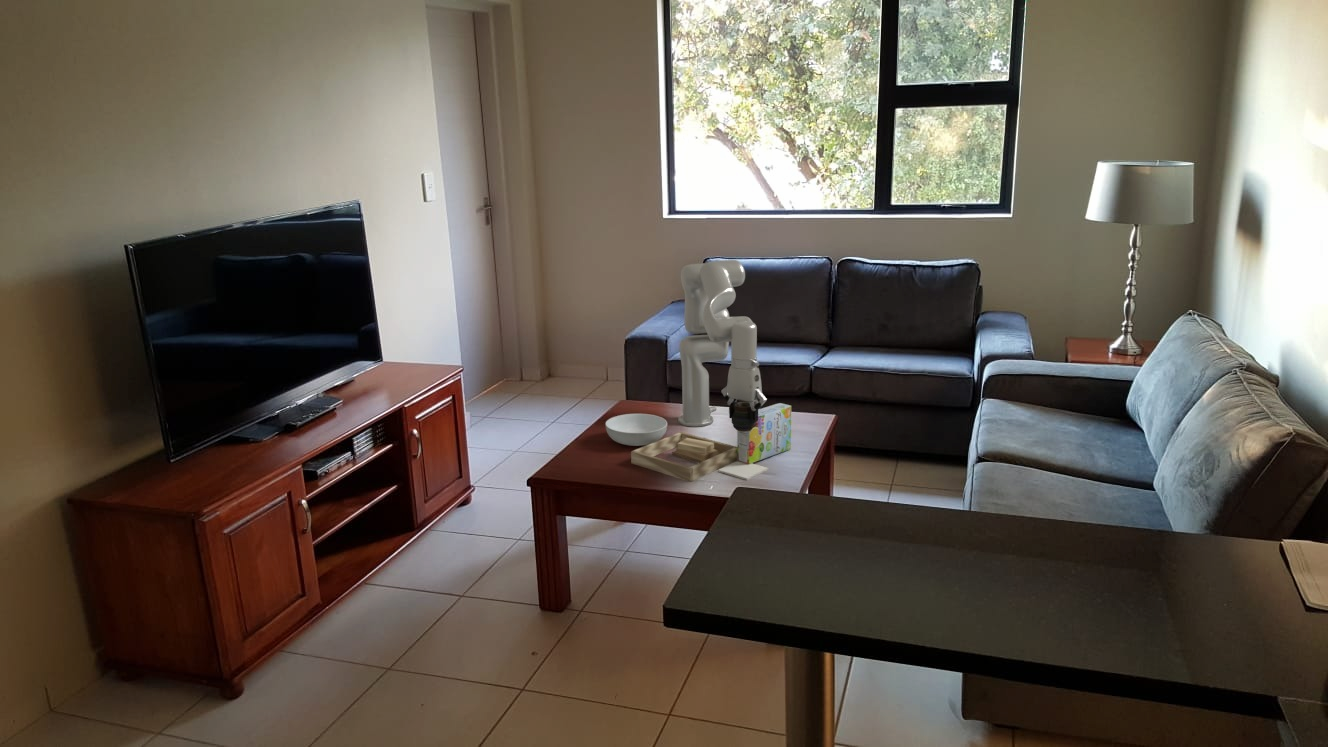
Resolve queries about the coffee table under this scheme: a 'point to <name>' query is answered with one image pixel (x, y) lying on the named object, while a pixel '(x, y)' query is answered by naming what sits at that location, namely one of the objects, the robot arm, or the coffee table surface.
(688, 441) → the slat pine
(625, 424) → the serving bowl
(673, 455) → the slat walnut
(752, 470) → the mat
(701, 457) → the slat oak
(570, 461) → the coffee table surface
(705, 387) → the robot arm
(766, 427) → the snack box
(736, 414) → the mate gourd
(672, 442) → the tray
